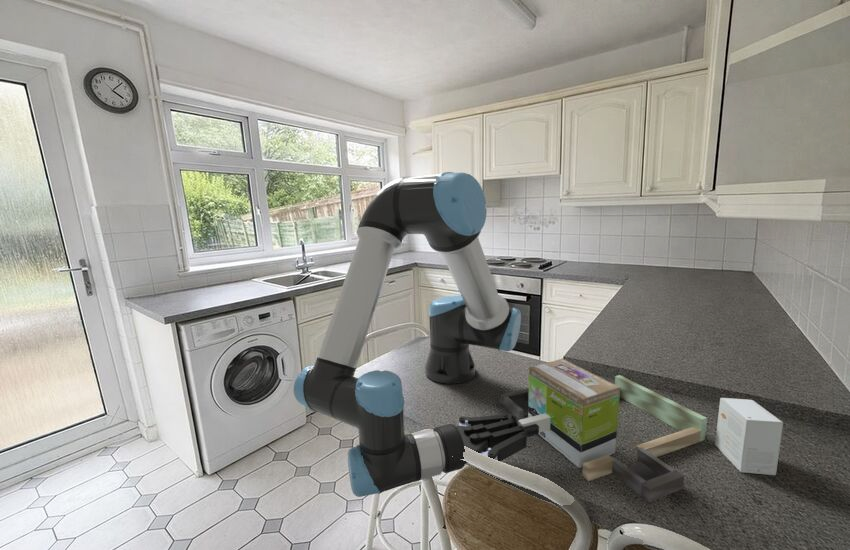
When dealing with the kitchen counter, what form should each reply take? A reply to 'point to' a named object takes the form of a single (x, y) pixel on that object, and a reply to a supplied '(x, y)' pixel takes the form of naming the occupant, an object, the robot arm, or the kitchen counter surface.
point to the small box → (748, 436)
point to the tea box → (575, 410)
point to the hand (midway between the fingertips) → (547, 421)
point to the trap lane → (649, 472)
